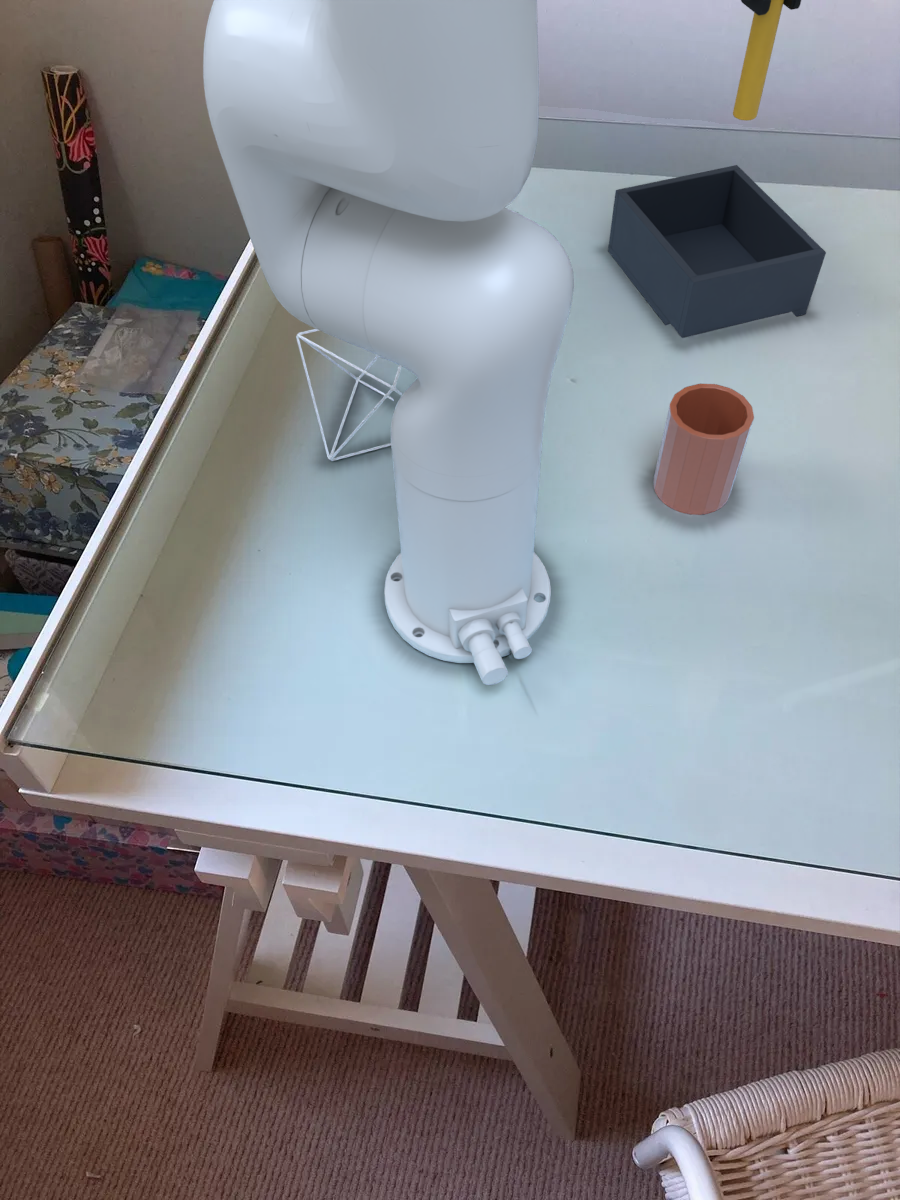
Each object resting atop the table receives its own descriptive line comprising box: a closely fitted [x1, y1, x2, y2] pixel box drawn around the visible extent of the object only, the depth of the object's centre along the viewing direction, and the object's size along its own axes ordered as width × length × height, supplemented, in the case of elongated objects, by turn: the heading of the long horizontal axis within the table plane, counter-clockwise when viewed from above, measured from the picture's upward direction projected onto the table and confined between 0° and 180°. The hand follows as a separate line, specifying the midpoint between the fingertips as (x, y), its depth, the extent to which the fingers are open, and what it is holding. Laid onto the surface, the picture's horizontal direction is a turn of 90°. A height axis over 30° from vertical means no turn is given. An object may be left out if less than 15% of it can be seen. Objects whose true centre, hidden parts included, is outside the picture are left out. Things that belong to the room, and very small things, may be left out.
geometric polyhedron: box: [295, 328, 404, 462], centre depth 82 cm, size 12×11×9 cm
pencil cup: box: [653, 383, 755, 516], centre depth 76 cm, size 6×6×9 cm
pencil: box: [732, 0, 784, 121], centre depth 75 cm, size 2×2×14 cm
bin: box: [607, 164, 827, 339], centre depth 95 cm, size 17×14×7 cm
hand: (769, 3), depth 74 cm, fingers closed on pencil, 2 cm apart
